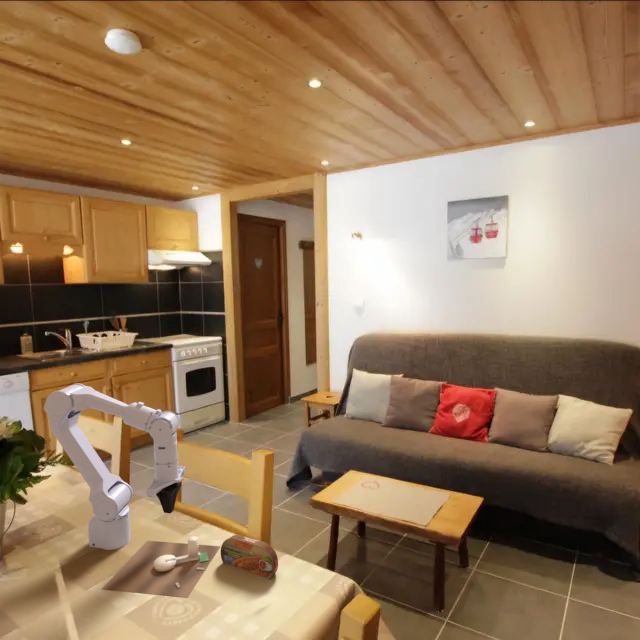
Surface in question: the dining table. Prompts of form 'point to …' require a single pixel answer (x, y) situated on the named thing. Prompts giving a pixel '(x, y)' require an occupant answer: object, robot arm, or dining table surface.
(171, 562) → the peg
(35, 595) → the dining table surface
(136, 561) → the board
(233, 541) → the tin
